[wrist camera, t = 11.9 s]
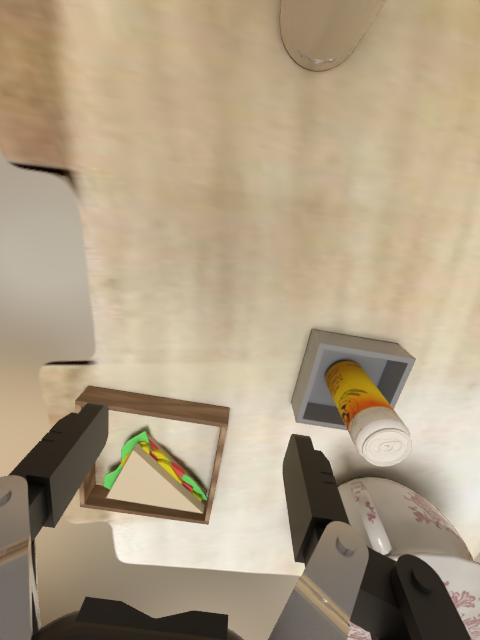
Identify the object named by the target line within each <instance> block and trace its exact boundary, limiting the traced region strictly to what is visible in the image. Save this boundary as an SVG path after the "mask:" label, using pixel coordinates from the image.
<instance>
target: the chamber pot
mask: <svg viewBox="0 0 480 640" xmlns="http://www.w3.org/2000/svg"><path fill="white" fill-rule="evenodd" d="M338 490H339V493H340V496H341V499H342V502H343V505H344V508H345V511H346V514H347V517H348V520H349V523H350V525H351V527H353V528H354V529H355V530H356V531H357V532H358V533H359V534H360V535H361V536H362V538H363V539H364V541H365V543H366V545H367V546H368V547H370V548H371V549H373V550H375V551H377V552H379V553H381V554H383V555H385V556H387V557H389V558H391V559H393V560H395V561H397V560H398V558H399V557H400V556H401V555H403V554H411V555H414V556H416V557H418V558H420V559H422V560H423V561H425V562H426V563H427V564H428V565H430V566H431V567H432V568H433V569H434V570H435V571H436V573H437V574H438V575H439V577H440V578H441V580H442V581H443V583H444V585H445V587H446V589H447V591H448V593H449V595H450V597H451V599H452V601H453V603H454V605H455V607H456V609H457V611H458V613H459V615H460V617H461V619H462V621H463V623H464V625H465V627H466V629H467V631H468V633H469V635H470V637H471V640H480V563H478V562H475V561H473V557H472V556H471V554H470V552H469V550H468V548H467V546H466V544H465V543H464V541H463V540H462V538H461V537H460V535H459V534H458V532H457V531H456V529H455V528H454V526H453V525H452V524H451V523H450V522H449V521H448V520H447V519H446V518H445V516H444V515H443V514H442V513H441V512H440V511H439V510H438V509H437V508H436V507H435V506H434V505H433V504H432V503H430V502H429V501H428V500H426V499H425V498H424V497H422V496H421V495H419V494H418V493H416V492H414V491H413V490H411V489H409V488H407V487H406V486H404V485H402V484H400V483H397V482H395V481H392V480H389V479H385V478H377V477H365V478H358V479H353V480H351V481H348V482H346V483H343V484H341V485H339V486H338ZM349 625H350V631H349V635H348V638H347V640H372V639H371V635H370V633H369V632H367V631H366V630H364V629H362V628H360V627H359V626H357V625H355V624H353V623H352V622H350V621H349Z"/></svg>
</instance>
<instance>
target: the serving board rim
mask: <svg viewBox="0 0 480 640" xmlns="http://www.w3.org/2000/svg"><path fill="white" fill-rule="evenodd" d="M88 402H93V403H99V404H106V405H108V410H113V411H120V412H126V413H133V414H139V415H146V416H152V417H159V418H165V419H172V420H179V421H185V422H192V423H198V424H205V425H211V426H218V427H221V431H220V436H219V441H218V447H217V452H216V458H215V463H214V469H213V474H212V479H211V485H210V490H209V496H208V501H205V500H201V502H202V503H203V504H204V511H203V514H202V513H196V512H190V511H184V510H178V509H171V508H165V507H159V506H153V505H147V504H140V503H134V502H128V501H122V500H116V499H110V498H106V497H107V495H108V493H109V491H110V489H108V488H106V487H104V486H100V485H95V463H94V464H93V466H92V468H91V469H90V471H89V472H88V474H87V476H86V477H85V479H84V481H83V482H82V484H81V485H80V487H79V491H80V507H85V508H92V509H100V510H107V511H114V512H121V513H128V514H135V515H143V516H150V517H157V518H164V519H171V520H179V521H186V522H193V523H200V524H207V525H208V524H209V519H210V514H211V509H212V504H213V498H214V493H215V488H216V483H217V478H218V473H219V467H220V462H221V457H222V452H223V447H224V442H225V437H226V431H227V426H228V418H229V408H228V407H221V406H215V405H209V404H202V403H196V402H189V401H183V400H176V399H170V398H164V397H157V396H151V395H144V394H138V393H131V392H125V391H119V390H112V389H106V388H99V387H93V386H88V387H87V388H86V390H85V391H84V392H83V393H82V394H81V395H80V396H79V397H78V398H77V399H76V400H75V405H76V413H79V412H80V411H81V409H82V408H83V407H84V406H85V405H86V404H87V403H88Z"/></svg>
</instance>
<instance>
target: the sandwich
mask: <svg viewBox="0 0 480 640" xmlns="http://www.w3.org/2000/svg"><path fill="white" fill-rule="evenodd" d="M121 456H122V463H121V464H120V465H119V467H118V468H117V469H116V470H115V471H113V472H110V473H108V474H106V475H105V478H104V487H106V488H108V489H110V491H109V493H108V495H107V497H106V498H110V499H116V500H122V501H128V502H134V503H140V504H147V505H153V506H159V507H165V508H171V509H178V510H184V511H190V512H196V513H202V514H203V511H204V504H203V503H202V502H201V500H208V498H207V497H206V490H205V489H204V488H203V487H202V486H201V485H200V484H199V483H198V482H197V481H196V480H195V479H194V478H193V477H192V476H191V475H190V474H189V473H188V472H187V471H186V470H185V469H184V468H183V467H182V466H181V465H180V464H179V463H178V462H177V461H176V460H175V459H174V458H173V457H171V456H170V455H169V454H168V453H167V452H166V451H165V450H164V449H163V448H162V447H161V446H160V445H159V444H158V443H157V442H156V441H155V440H154V439H153V438H152V437H151V436H150V435H149V434H148V433H147V432H146V431H144V432H142V433H140V434H139V435H137V436H135V437H133V438H132V439H130V440H128V441H127V443H126V444H125V445H124V447H123V448H122V450H121Z"/></svg>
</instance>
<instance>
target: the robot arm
mask: <svg viewBox="0 0 480 640" xmlns="http://www.w3.org/2000/svg"><path fill="white" fill-rule="evenodd" d="M385 2H386V0H282V4H281V10H280V30H281V37H282V40H283V42H284V45H285V48H286V49H287V51H288V53H289V55H290V56H291V57H292V58H293V59H294V61H295V62H296V63H298V64H299V65H301V66H302V67H304V68H307V69H309V70H314V71H323V70H328V69H331V68H333V67H335V66H337V65H339V64H340V63H341V62H343V61H344V60H345V59H346V58H347V57H348V56H349V55H350V54H351V53H352V52H353V50H354V49H355V47H356V46H357V44H358V43H359V41H360V40H361V38H362V37H363V35H364V34H365V32H366V30H367V29H368V28H369V26H370V25H371V23H372V22H373V20H374V19H375V17H376V15H377V14H378V12H379V11H380V9H381V8H382V6H383V5H384V3H385ZM107 438H108V405H106V404H99V403H93V402H88V403H87V404H86V405H85V406H84V407H83V408H82V409H81V411H80V412H79V413H70V414H69V415H67V416H65V417H64V418H62V419H60V420H59V421H58V422H57V423H56V424H55V425H54V426H53V427H52V428H51V430H50V431H49V433H47V434H46V435H45V436H44V437H43V438H42V440H41V441H39V443H38V444H37V445H36V446H35V447H34V448H33V449H32V450H31V451H30V453H28V455H27V456H26V457H25V458H24V459H23V460H22V461H21V462H20V463H19V465H18V466H17V467H16V468H15V469H14V470H13V471H12V472H11V473H10V474H9V475H8V476H4V477H0V640H244V639H242V637H240V636H239V635H238V634H236V633H235V632H234V631H232V630H230V629H228V615H225V614H217V613H209V612H202V611H189V612H185V613H180V614H176V615H171V616H167V617H162V618H157V619H155V618H152V617H150V616H148V615H146V614H144V613H142V612H140V611H138V610H136V609H135V608H133V607H131V606H129V605H127V604H125V603H123V602H122V601H114V600H107V599H99V598H91V597H85V600H84V602H83V604H82V607H81V609H80V610H79V611H75V612H72V613H69V614H66V615H64V616H62V617H60V618H58V619H56V620H54V621H52V622H50V623H49V624H47V625H45V626H44V627H42V628H41V626H40V613H39V602H38V586H37V565H36V545H35V537H36V536H37V534H38V533H39V531H40V530H41V528H42V527H43V526H45V527H53V528H55V526H56V524H57V523H58V521H59V520H60V518H61V516H62V515H63V513H64V511H65V510H66V508H67V507H68V505H69V503H70V502H71V500H72V498H73V497H74V495H75V494H76V492H77V490H78V489H79V487H80V485H81V484H82V482H83V481H84V479H85V477H86V476H87V474H88V472H89V471H90V469H91V468H92V466H93V464H94V463H95V461H96V459H97V458H98V456H99V455H100V453H101V451H102V450H103V448H104V446H105V444H106V441H107ZM283 480H284V487H285V494H286V502H287V509H288V516H289V523H290V530H291V538H292V545H293V552H294V559H295V562H301V563H305V570H304V572H303V574H302V576H301V578H299V580H298V582H297V583H296V585H295V587H294V589H293V591H292V593H291V595H290V597H289V599H288V601H287V603H286V605H285V607H284V609H283V611H282V613H281V615H280V617H279V619H278V621H277V623H276V625H275V627H274V629H273V631H272V633H271V635H270V637H269V639H268V640H347V638H348V635H349V631H350V625H349V621H350V622H352V623H353V624H355V625H357V626H359V627H360V628H362V629H364V630H366V631H367V632H369V633H370V635H371V639H372V640H471V637H470V635H469V633H468V631H467V629H466V627H465V625H464V623H463V621H462V619H461V617H460V615H459V613H458V611H457V609H456V607H455V605H454V603H453V601H452V599H451V597H450V595H449V593H448V591H447V589H446V587H445V585H444V583H443V581H442V580H441V578H440V577H439V575H438V574H437V573H436V571H435V570H434V569H433V568H432V567H431V566H430V565H428V564H427V563H426V562H425V561H423V560H422V559H420V558H418V557H416V556H414V555H411V554H403V555H401V556H400V557H399V558H398V560H397V561H395V560H393V559H391V558H389V557H387V556H385V555H383V554H381V553H379V552H377V551H375V550H373V549H371V548H370V547H368V546H367V545H366V543H365V541H364V539H363V538H362V536H361V535H360V534H359V533H358V532H357V531H356V530H355V529H354V528H353V527H351V525H350V523H349V520H348V517H347V514H346V511H345V508H344V505H343V502H342V499H341V496H340V493H339V490H338V487H337V485H336V481H335V478H334V476H333V472H332V469H331V466H330V463H329V461H328V460H327V458H326V457H325V456H324V454H323V453H322V452H321V451H318V450H314V448H313V444H312V441H311V438H310V437H309V436H304V435H297V434H292V435H291V437H290V441H289V444H288V447H287V451H286V454H285V457H284V461H283Z"/></svg>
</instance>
